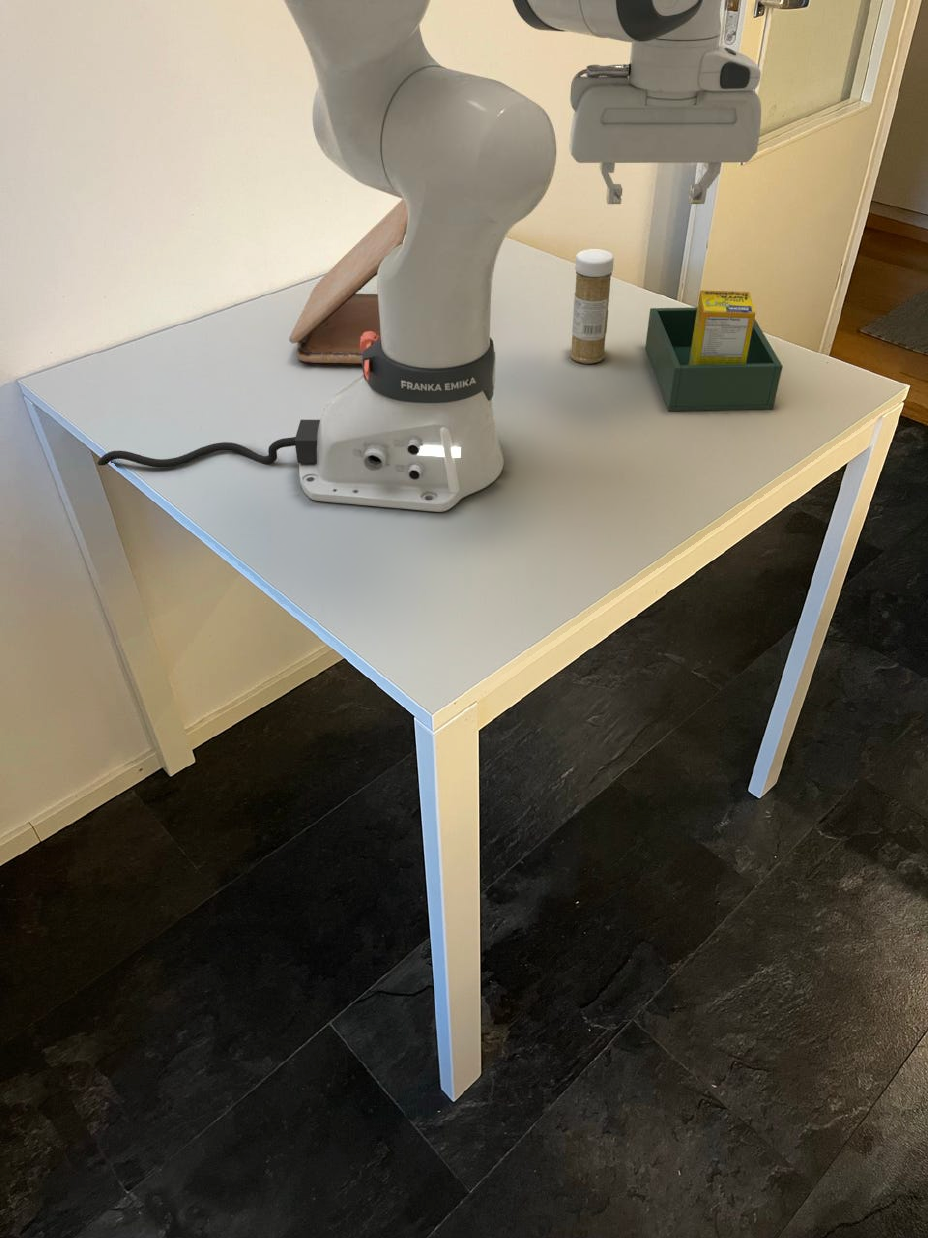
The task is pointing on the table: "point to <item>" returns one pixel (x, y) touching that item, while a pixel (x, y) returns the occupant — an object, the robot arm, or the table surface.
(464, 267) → the robot arm
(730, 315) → the supplement box
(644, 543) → the table surface
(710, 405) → the box
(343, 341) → the case
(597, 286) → the sprinkles bottle
